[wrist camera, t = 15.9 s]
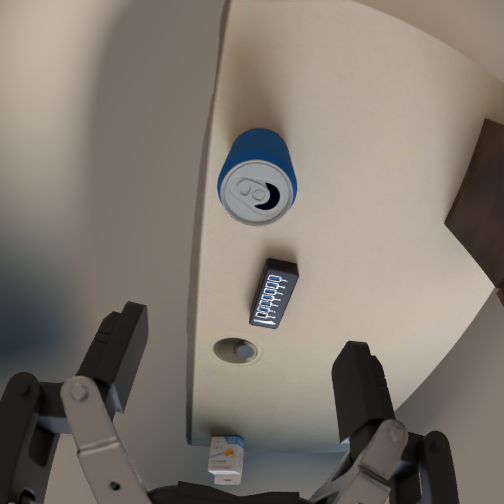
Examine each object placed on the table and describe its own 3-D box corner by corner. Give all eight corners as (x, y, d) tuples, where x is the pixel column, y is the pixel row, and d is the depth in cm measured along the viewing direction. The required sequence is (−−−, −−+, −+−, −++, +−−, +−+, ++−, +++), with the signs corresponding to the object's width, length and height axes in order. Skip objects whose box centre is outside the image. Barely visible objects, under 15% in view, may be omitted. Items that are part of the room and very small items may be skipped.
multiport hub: (298, 264, 41) (300, 274, 39) (276, 319, 47) (276, 329, 45) (267, 257, 41) (267, 267, 39) (249, 313, 47) (248, 324, 45)
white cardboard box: (238, 435, 75) (234, 480, 63) (244, 440, 77) (241, 484, 65) (211, 436, 77) (205, 480, 64) (218, 442, 79) (214, 484, 67)
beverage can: (273, 189, 36) (276, 242, 26) (222, 168, 34) (203, 214, 24) (297, 141, 32) (313, 175, 22) (244, 118, 31) (233, 141, 21)
